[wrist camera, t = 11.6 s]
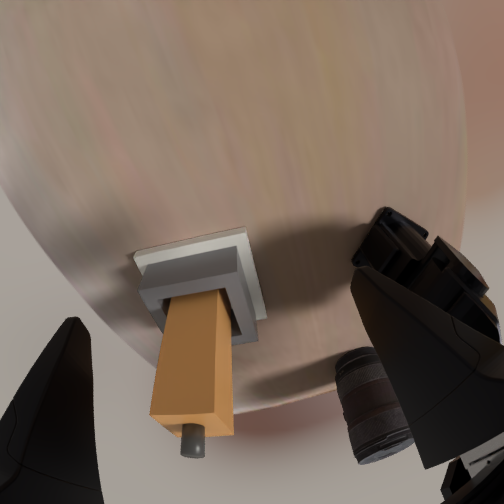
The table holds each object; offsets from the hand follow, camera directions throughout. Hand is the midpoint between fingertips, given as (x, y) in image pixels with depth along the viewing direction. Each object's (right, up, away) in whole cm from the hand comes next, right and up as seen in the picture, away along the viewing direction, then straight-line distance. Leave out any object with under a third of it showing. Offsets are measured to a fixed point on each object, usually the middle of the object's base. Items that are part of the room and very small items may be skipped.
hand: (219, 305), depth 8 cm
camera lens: (+16, -14, +27) cm, 35 cm away
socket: (-3, -1, +18) cm, 18 cm away
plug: (-3, -2, +17) cm, 17 cm away
